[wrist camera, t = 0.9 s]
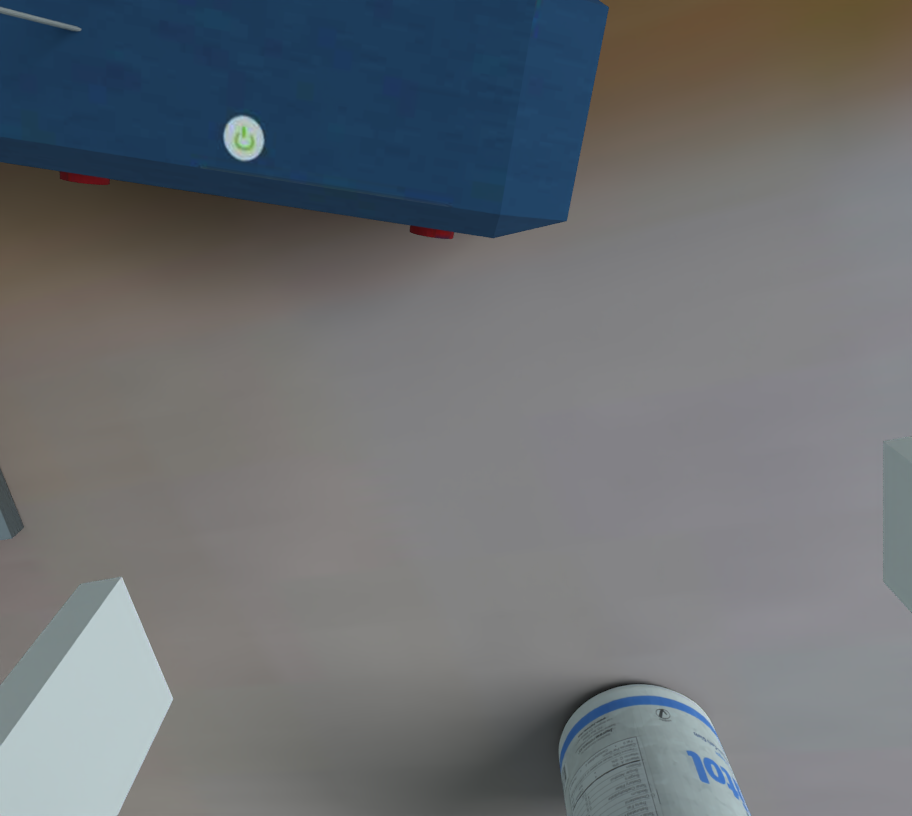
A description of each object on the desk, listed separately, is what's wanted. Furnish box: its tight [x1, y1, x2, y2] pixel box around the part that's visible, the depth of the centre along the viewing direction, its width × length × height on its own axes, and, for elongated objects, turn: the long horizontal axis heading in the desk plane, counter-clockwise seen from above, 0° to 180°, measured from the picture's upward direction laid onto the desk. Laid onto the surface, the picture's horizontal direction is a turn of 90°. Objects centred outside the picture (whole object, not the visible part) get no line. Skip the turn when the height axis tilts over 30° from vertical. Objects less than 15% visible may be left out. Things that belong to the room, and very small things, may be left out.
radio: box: [0, 0, 609, 239], centre depth 25 cm, size 21×9×20 cm, turn 81°
